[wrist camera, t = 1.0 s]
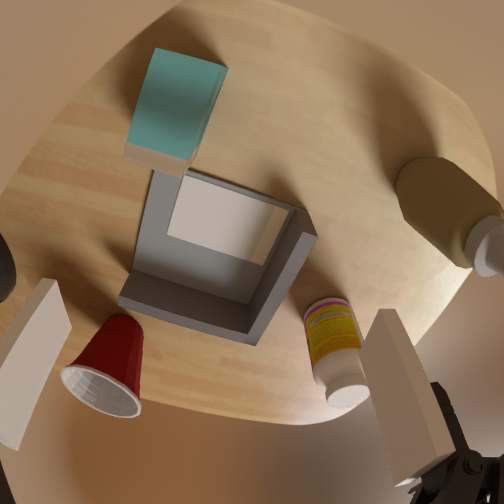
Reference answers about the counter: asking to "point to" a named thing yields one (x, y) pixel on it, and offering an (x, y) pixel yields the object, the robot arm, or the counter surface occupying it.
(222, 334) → the corner tray
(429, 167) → the squeeze bottle
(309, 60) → the counter surface
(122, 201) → the counter surface
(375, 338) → the robot arm
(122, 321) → the plastic cup
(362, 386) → the supplement bottle
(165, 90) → the teal block
